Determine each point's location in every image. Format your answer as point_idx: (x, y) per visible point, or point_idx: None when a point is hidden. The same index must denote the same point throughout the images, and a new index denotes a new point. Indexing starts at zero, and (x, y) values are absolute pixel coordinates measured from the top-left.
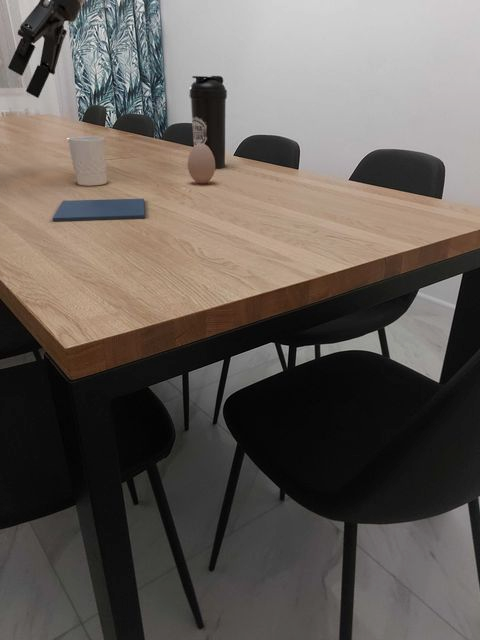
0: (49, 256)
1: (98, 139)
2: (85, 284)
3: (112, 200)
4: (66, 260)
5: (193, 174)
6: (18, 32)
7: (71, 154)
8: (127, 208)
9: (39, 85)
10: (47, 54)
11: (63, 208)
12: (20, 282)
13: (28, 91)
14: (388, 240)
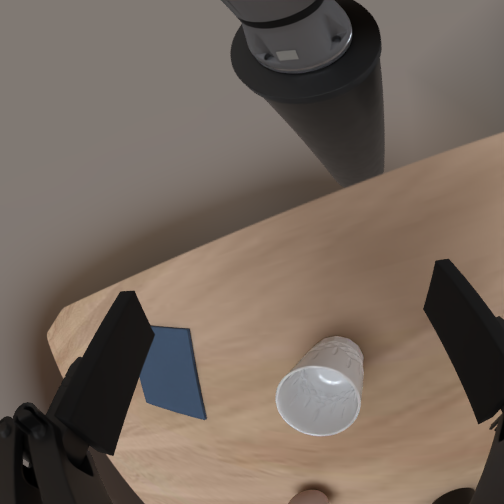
0: (81, 326)
1: (292, 426)
2: (66, 343)
3: (192, 387)
4: (79, 335)
5: (298, 493)
6: (22, 408)
7: (308, 356)
8: (162, 394)
9: (448, 338)
10: (491, 492)
11: (155, 332)
12: (63, 315)
13: (435, 273)
14: (139, 489)
